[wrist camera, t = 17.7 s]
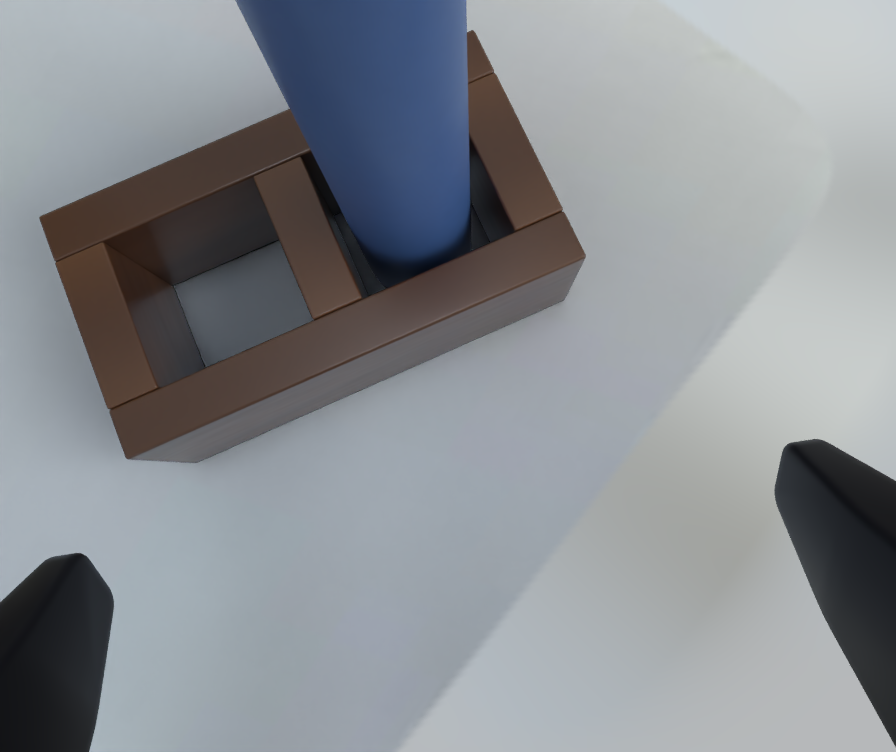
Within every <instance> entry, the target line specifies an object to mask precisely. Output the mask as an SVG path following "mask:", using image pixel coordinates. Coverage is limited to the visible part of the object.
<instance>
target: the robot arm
mask: <svg viewBox="0 0 896 752" xmlns="http://www.w3.org/2000/svg"><path fill="white" fill-rule="evenodd" d="M775 500H776V504H777V507H778V509H779V512H780V514H781V516H782V519H783V521H784V524H785V526H786V528H787V530H788V533H789V536H790V538H791V540H792V543H793V545H794V547H795V550H796V552H797V555H798V557H799V560H800V562H801V564H802V567H803V569H804V572H805V574H806V576H807V579H808V581H809V583H810V586H811V588H812V591H813V593H814V595H815V598H816V600H817V602H818V604H819V607H820V609H821V611H822V613H823V615H824V617H825V619H826V621H827V623H828V625H829V627H830V629H831V630H832V633H833V634H834V636H835V638H836V640H837V642H838V643H839V645H840V647H841V649H842V651H843V653H844V654H845V656H846V658H847V660H848V661H849V663H850V665H851V667H852V669H853V671H854V672H855V674H856V676H857V678H858V680H859V681H860V683H861V685H862V687H863V689H864V690H865V692H866V694H867V696H868V698H869V699H870V701H871V703H872V705H873V707H874V709H875V710H876V712H877V714H878V716H879V718H880V719H881V721H882V723H883V725H884V726H885V728H886V730H887V732H888V734H889V736H890V737H891V739H892V741H893V743H894V745H895V746H896V481H895V480H893V479H891V478H890V477H888V476H886V475H884V474H882V473H881V472H879V471H877V470H875V469H874V468H872V467H870V466H868V465H867V464H865V463H863V462H861V461H859V460H858V459H856V458H854V457H852V456H850V455H849V454H847V453H845V452H843V451H842V450H840V449H838V448H836V447H835V446H833V445H831V444H829V443H827V442H825V441H823V440H819V439H813V440H806V441H800V442H793V443H789V444H787V445H786V446H785V448H784V449H783V452H782V456H781V461H780V465H779V470H778V475H777V480H776V484H775ZM113 609H114V600H113V595H112V592H111V590H110V588H109V587H108V585H107V584H106V582H105V581H104V580H103V578H102V577H101V575H100V574H99V572H98V571H97V570H96V568H95V567H94V565H93V564H92V562H91V561H90V560H89V558H88V557H87V556H85V555H83V554H81V553H74V554H68V555H61V556H55V557H51V558H49V559H47V560H45V561H44V562H43V563H42V564H41V565H39V566H38V567H37V568H36V569H35V570H34V571H33V572H32V573H31V574H30V575H29V576H28V577H27V578H26V579H25V580H24V581H23V582H21V583H20V584H19V585H18V586H17V587H16V588H15V589H14V590H13V591H12V592H11V593H10V594H9V595H8V596H7V597H6V598H4V599H3V600H2V601H1V602H0V752H89V750H90V746H91V742H92V738H93V734H94V729H95V725H96V720H97V714H98V709H99V703H100V697H101V690H102V683H103V677H104V670H105V663H106V657H107V650H108V643H109V637H110V630H111V623H112V617H113Z"/></svg>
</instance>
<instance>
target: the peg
mask: <svg viewBox="0 0 896 752" xmlns="http://www.w3.org/2000/svg"><path fill="white" fill-rule="evenodd" d="M236 2H237V4H238V6H239V8H240V10H241V12H242V14H243V16H244V18H245V20H246V22H247V24H248V26H249V28H250V30H251V32H252V34H253V36H254V38H255V40H256V42H257V44H258V46H259V48H260V50H261V52H262V54H263V56H264V58H265V60H266V62H267V64H268V66H269V68H270V70H271V72H272V74H273V76H274V78H275V80H276V82H277V84H278V86H279V88H280V90H281V92H282V94H283V96H284V98H285V100H286V102H287V104H288V106H289V108H290V110H291V112H292V114H293V116H294V118H295V120H296V122H297V124H298V126H299V128H300V130H301V132H302V134H303V136H304V138H305V140H306V142H307V144H308V146H309V147H310V149H311V151H312V153H313V155H314V157H315V159H316V161H317V163H318V165H319V167H320V169H321V171H322V173H323V175H324V177H325V179H326V181H327V183H328V185H329V187H330V189H331V191H332V193H333V195H334V197H335V199H336V201H337V203H338V205H339V207H340V209H341V211H342V213H343V215H344V217H345V219H346V221H347V223H348V225H349V227H350V229H351V231H352V233H353V235H354V237H355V239H356V241H357V243H358V245H359V247H360V249H361V251H362V253H363V255H364V257H365V259H366V261H367V263H368V265H369V267H370V269H371V271H372V272H373V274H374V275H375V277H376V278H377V279H378V280H379V281H380V282H381V283H382V284H383V285H384V286H385V287H387V288H389V287H391V286H393V285H395V284H398V283H400V282H402V281H404V280H407V279H409V278H411V277H414V276H416V275H418V274H420V273H423V272H425V271H427V270H430V269H432V268H434V267H436V266H439V265H441V264H443V263H445V262H448V261H450V260H452V259H455V258H457V257H459V256H461V255H464V254H466V253H468V252H470V251H471V211H470V163H469V115H468V67H467V19H466V0H236Z"/></svg>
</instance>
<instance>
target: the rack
mask: <svg viewBox="0 0 896 752" xmlns="http://www.w3.org/2000/svg"><path fill="white" fill-rule="evenodd" d="M467 67H468V115H469V163H470V200H471V202H472V205H473V207H474V209H475V211H476V213H477V215H478V217H479V219H480V221H481V224H482V226H483V228H484V230H485V232H486V234H487V236H488V238H489V240H490V243H489V244H486V245H484V246H482V247H480V248H477V249H475V250H473V251H470V252H468V253H466V254H464V255H461V256H459V257H457V258H455V259H452V260H450V261H448V262H445V263H443V264H441V265H439V266H436V267H434V268H432V269H430V270H427V271H425V272H423V273H420V274H418V275H416V276H414V277H411V278H409V279H407V280H404V281H402V282H400V283H398V284H395V285H393V286H391V287H389V288H386V289H384V290H382V291H379V292H377V293H375V294H373V295H370V296H368V294H367V292H366V290H365V287H364V285H363V283H362V280H361V278H360V276H359V274H358V271H357V269H356V267H355V264H354V262H353V260H352V258H351V255H350V253H349V251H348V248H347V246H346V244H345V242H344V239H343V237H342V235H341V232H340V230H339V228H338V225H337V223H336V221H335V219H334V217H333V215H336V214H338V213H340V212H342V211H341V209H340V207H339V205H338V203H337V201H336V199H335V197H334V195H333V193H332V191H331V189H330V187H329V185H328V183H327V181H326V179H325V177H324V175H323V173H322V171H321V169H320V167H319V165H318V163H317V161H316V159H315V157H314V155H313V153H312V151H311V149H310V147H309V146H308V144H307V142H306V140H305V138H304V136H303V134H302V132H301V130H300V128H299V126H298V124H297V122H296V120H295V118H294V116H293V114H292V112H291V110H290V109H288V110H286V111H284V112H281V113H279V114H277V115H274V116H272V117H270V118H267V119H265V120H263V121H260V122H258V123H256V124H253V125H251V126H249V127H246V128H244V129H242V130H239V131H237V132H235V133H232V134H230V135H228V136H226V137H223V138H221V139H219V140H216V141H214V142H212V143H209V144H207V145H205V146H202V147H200V148H198V149H195V150H193V151H191V152H188V153H186V154H184V155H181V156H179V157H177V158H174V159H172V160H170V161H168V162H165V163H163V164H161V165H158V166H156V167H154V168H151V169H149V170H147V171H144V172H142V173H140V174H137V175H135V176H133V177H130V178H128V179H126V180H123V181H121V182H119V183H116V184H114V185H112V186H110V187H107V188H105V189H103V190H100V191H98V192H96V193H93V194H91V195H89V196H86V197H84V198H82V199H79V200H77V201H75V202H72V203H70V204H68V205H65V206H63V207H61V208H58V209H56V210H54V211H52V212H49V213H47V214H45V215H42V216H40V222H41V224H42V227H43V230H44V233H45V235H46V238H47V241H48V244H49V247H50V249H51V252H52V255H53V258H54V260H55V261H56V267H57V270H58V272H59V275H60V278H61V281H62V283H63V286H64V289H65V292H66V295H67V297H68V300H69V303H70V306H71V308H72V311H73V314H74V317H75V319H76V322H77V325H78V328H79V331H80V333H81V336H82V339H83V342H84V344H85V347H86V350H87V353H88V355H89V358H90V361H91V364H92V367H93V369H94V372H95V375H96V378H97V380H98V383H99V386H100V389H101V392H102V394H103V397H104V400H105V403H106V405H107V408H108V409H110V415H111V418H112V421H113V424H114V426H115V429H116V432H117V435H118V438H119V440H120V443H121V446H122V449H123V451H124V454H125V457H126V458H127V459H131V460H149V461H167V462H185V463H197V462H199V461H202V460H204V459H206V458H209V457H211V456H213V455H215V454H218V453H220V452H222V451H224V450H227V449H229V448H231V447H233V446H236V445H238V444H240V443H242V442H245V441H247V440H249V439H251V438H254V437H256V436H258V435H260V434H263V433H265V432H267V431H270V430H272V429H274V428H276V427H279V426H281V425H283V424H285V423H288V422H290V421H292V420H294V419H297V418H299V417H301V416H303V415H306V414H308V413H310V412H312V411H315V410H317V409H319V408H322V407H324V406H326V405H328V404H331V403H333V402H335V401H337V400H340V399H342V398H344V397H346V396H349V395H351V394H353V393H355V392H358V391H360V390H362V389H364V388H367V387H369V386H371V385H373V384H376V383H378V382H380V381H383V380H385V379H387V378H389V377H392V376H394V375H396V374H398V373H401V372H403V371H405V370H407V369H410V368H412V367H414V366H416V365H419V364H421V363H423V362H425V361H428V360H430V359H432V358H434V357H437V356H439V355H441V354H444V353H446V352H448V351H450V350H453V349H455V348H457V347H459V346H462V345H464V344H466V343H468V342H471V341H473V340H475V339H477V338H480V337H482V336H484V335H486V334H489V333H491V332H493V331H495V330H498V329H500V328H502V327H505V326H507V325H509V324H511V323H514V322H516V321H518V320H520V319H523V318H525V317H527V316H529V315H532V314H534V313H536V312H538V311H541V310H543V309H545V308H547V307H550V306H552V305H554V304H556V303H559V302H561V301H563V300H564V299H565V298H566V296H567V294H568V292H569V290H570V288H571V286H572V284H573V282H574V280H575V278H576V276H577V274H578V272H579V270H580V268H581V266H582V264H583V261H584V259H585V257H586V255H585V253H584V251H583V249H582V247H581V245H580V243H579V241H578V239H577V237H576V235H575V233H574V231H573V229H572V227H571V225H570V222H569V220H568V218H567V216H566V214H565V213H564V212H562V206H561V204H560V202H559V200H558V198H557V196H556V194H555V192H554V190H553V188H552V186H551V184H550V182H549V180H548V178H547V176H546V174H545V172H544V170H543V168H542V166H541V164H540V162H539V160H538V158H537V156H536V154H535V152H534V150H533V148H532V146H531V144H530V142H529V140H528V138H527V136H526V134H525V132H524V130H523V128H522V126H521V124H520V122H519V120H518V118H517V116H516V114H515V112H514V110H513V107H512V105H511V103H510V101H509V99H508V97H507V95H506V93H505V91H504V89H503V87H502V85H501V83H500V81H499V79H498V77H497V75H496V74H495V73H494V69H493V67H492V65H491V63H490V61H489V59H488V57H487V55H486V53H485V51H484V49H483V47H482V45H481V43H480V41H479V39H478V37H477V35H476V33H475V32H474V31H473V30H471V31H469V32H467ZM278 239H279V241H280V243H281V245H282V248H283V250H284V252H285V255H286V257H287V260H288V262H289V264H290V267H291V269H292V271H293V274H294V276H295V279H296V281H297V283H298V286H299V288H300V291H301V293H302V295H303V298H304V300H305V302H306V305H307V307H308V310H309V312H310V314H311V317H312V319H313V321H311V322H309V323H307V324H304V325H302V326H300V327H297V328H295V329H293V330H291V331H288V332H286V333H284V334H282V335H279V336H277V337H275V338H272V339H270V340H268V341H266V342H263V343H261V344H259V345H256V346H254V347H252V348H250V349H247V350H245V351H243V352H241V353H238V354H236V355H234V356H231V357H229V358H227V359H225V360H222V361H220V362H218V363H216V364H213V365H211V366H209V367H206V368H205V367H204V364H203V362H202V359H201V357H200V354H199V352H198V349H197V346H196V344H195V341H194V339H193V336H192V333H191V331H190V328H189V326H188V323H187V321H186V318H185V315H184V313H183V310H182V308H181V305H180V303H179V300H178V297H177V295H176V292H175V290H174V287H173V285H175V284H177V283H179V282H182V281H184V280H186V279H189V278H191V277H193V276H196V275H198V274H200V273H202V272H205V271H207V270H209V269H212V268H214V267H216V266H218V265H221V264H223V263H225V262H228V261H230V260H232V259H235V258H237V257H239V256H241V255H244V254H246V253H248V252H251V251H253V250H255V249H257V248H260V247H262V246H264V245H267V244H269V243H271V242H274V241H276V240H278Z"/></svg>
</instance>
